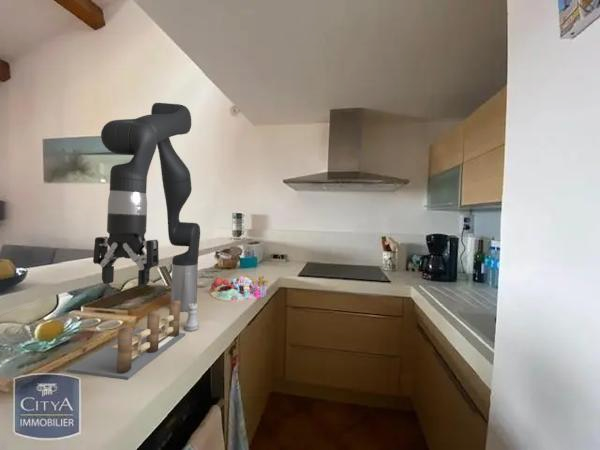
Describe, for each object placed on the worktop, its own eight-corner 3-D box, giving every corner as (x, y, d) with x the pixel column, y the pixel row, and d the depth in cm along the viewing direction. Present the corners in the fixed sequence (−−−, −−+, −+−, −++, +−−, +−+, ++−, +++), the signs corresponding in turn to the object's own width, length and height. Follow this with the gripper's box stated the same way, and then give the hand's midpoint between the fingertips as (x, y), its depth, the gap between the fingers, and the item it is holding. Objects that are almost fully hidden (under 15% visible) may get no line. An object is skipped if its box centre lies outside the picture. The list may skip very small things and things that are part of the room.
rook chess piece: (193, 325, 94) (194, 301, 94) (202, 328, 92) (203, 303, 92) (181, 329, 90) (182, 304, 90) (190, 332, 88) (191, 307, 88)
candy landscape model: (236, 286, 150) (237, 268, 150) (275, 292, 140) (276, 274, 140) (201, 297, 127) (202, 276, 127) (245, 306, 118) (246, 284, 117)
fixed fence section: (172, 332, 86) (173, 300, 86) (180, 333, 86) (182, 300, 85) (143, 352, 73) (145, 314, 73) (153, 353, 73) (155, 315, 73)
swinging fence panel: (142, 351, 73) (144, 316, 73) (152, 352, 73) (154, 317, 72) (113, 371, 63) (115, 331, 63) (125, 373, 63) (126, 332, 63)
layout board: (139, 330, 88) (139, 328, 88) (185, 335, 86) (185, 332, 86) (66, 371, 64) (67, 368, 64) (127, 379, 62) (127, 376, 62)
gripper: (167, 214, 66) (164, 283, 67) (112, 211, 68) (109, 278, 69) (145, 213, 59) (142, 291, 59) (84, 210, 61) (82, 285, 61)
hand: (125, 284), depth 64 cm, fingers open, 8 cm apart
